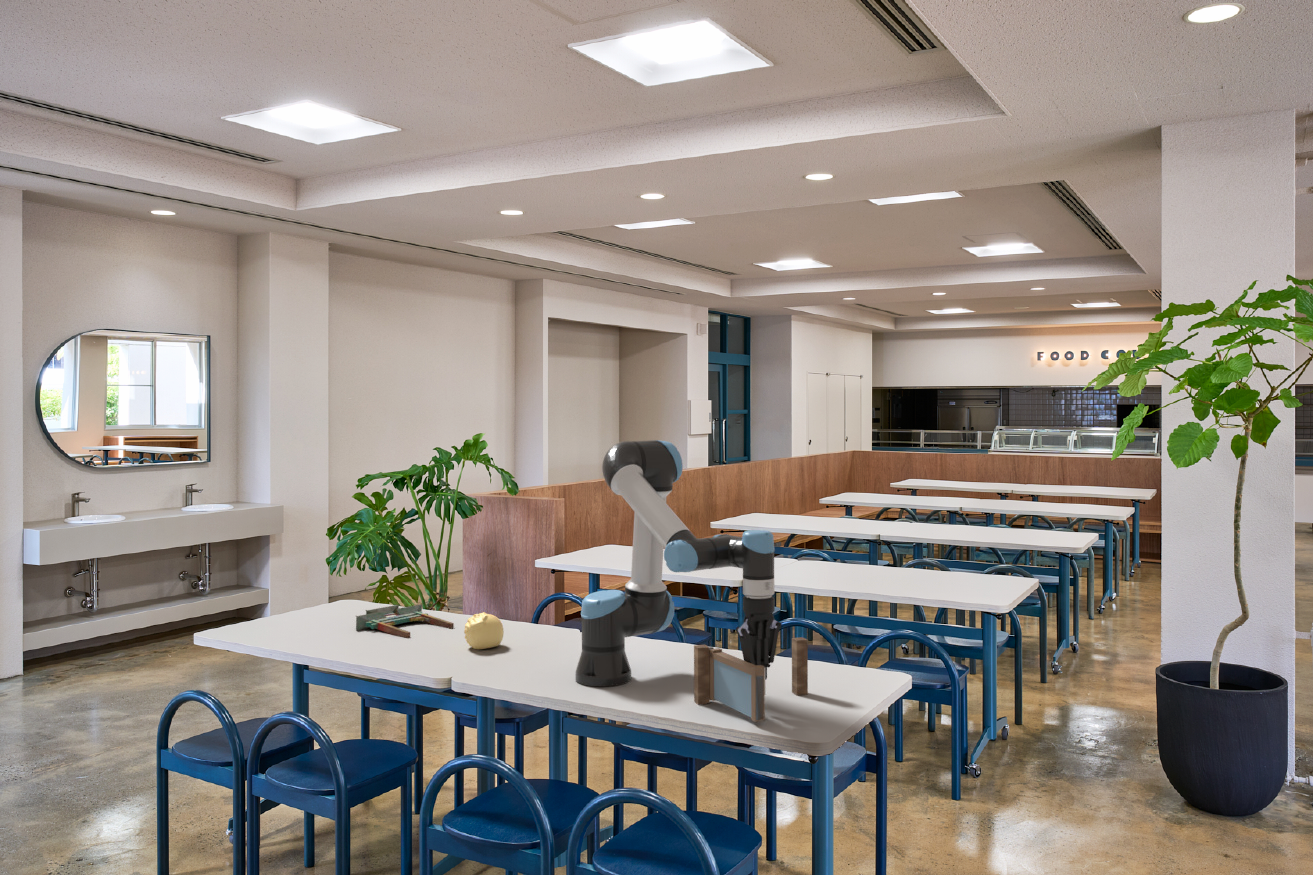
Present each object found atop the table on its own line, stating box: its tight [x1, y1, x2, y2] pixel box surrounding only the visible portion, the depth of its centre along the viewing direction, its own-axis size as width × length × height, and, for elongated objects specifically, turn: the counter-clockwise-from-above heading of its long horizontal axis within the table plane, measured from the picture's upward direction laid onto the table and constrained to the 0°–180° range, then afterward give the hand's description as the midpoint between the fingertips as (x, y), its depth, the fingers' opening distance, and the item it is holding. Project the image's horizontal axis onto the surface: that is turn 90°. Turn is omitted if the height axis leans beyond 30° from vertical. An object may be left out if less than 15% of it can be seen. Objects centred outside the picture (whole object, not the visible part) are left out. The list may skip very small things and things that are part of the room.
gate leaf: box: [710, 647, 766, 723], centre depth 227 cm, size 20×3×12 cm, turn 28°
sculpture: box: [463, 611, 505, 650], centre depth 296 cm, size 12×12×11 cm
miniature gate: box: [355, 603, 455, 638], centre depth 326 cm, size 27×6×30 cm
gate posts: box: [693, 636, 809, 706], centre depth 240 cm, size 30×3×14 cm, turn 106°
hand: (759, 693), depth 228 cm, fingers closed
